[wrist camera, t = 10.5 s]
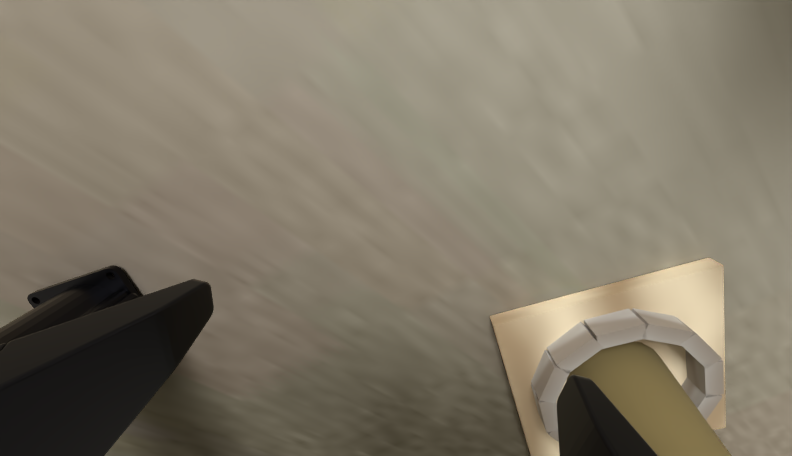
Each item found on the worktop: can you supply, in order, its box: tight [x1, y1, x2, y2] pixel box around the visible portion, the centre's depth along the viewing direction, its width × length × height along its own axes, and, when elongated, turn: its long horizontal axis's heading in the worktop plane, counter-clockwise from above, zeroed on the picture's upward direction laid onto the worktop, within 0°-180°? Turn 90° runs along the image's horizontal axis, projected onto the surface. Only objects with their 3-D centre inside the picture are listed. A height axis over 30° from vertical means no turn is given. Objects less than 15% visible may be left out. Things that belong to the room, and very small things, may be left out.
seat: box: [490, 258, 726, 456], centre depth 22 cm, size 13×13×2 cm
